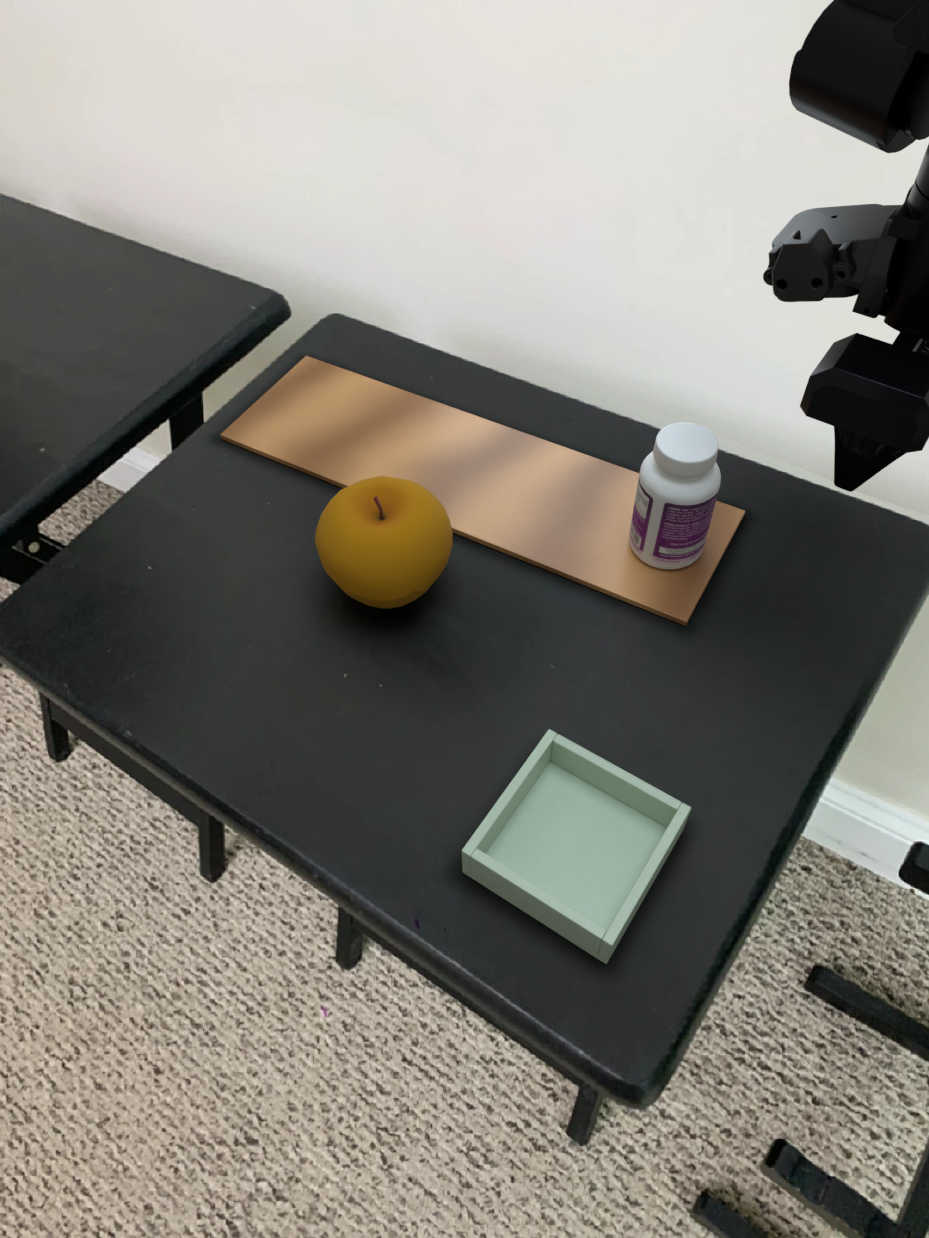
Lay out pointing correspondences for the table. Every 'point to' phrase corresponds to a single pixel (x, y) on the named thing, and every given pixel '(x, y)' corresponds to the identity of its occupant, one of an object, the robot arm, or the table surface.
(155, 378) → the table surface
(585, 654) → the table surface
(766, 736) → the table surface
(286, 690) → the table surface
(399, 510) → the apple
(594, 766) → the tray
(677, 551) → the pill bottle
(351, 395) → the wooden board
